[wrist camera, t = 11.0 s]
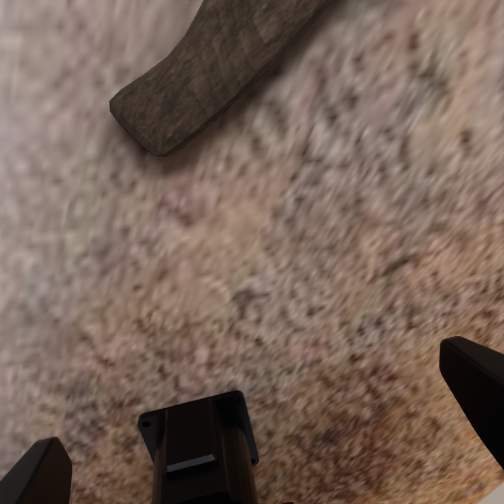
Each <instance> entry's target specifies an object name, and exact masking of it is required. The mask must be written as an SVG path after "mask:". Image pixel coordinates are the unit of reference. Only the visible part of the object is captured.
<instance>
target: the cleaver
mask: <svg viewBox="0 0 504 504" xmlns="http://www.w3.org/2000/svg"><path fill="white" fill-rule="evenodd" d="M333 1H334V0H204V1H203V3H202V5H201V7H200V8H199V10H198V12H197V14H196V16H195V18H194V20H193V22H192V23H191V25H190V27H189V29H188V31H187V33H186V34H185V36H184V37H183V38H182V40H181V41H180V42H179V43H178V44H177V46H176V47H175V48H174V49H173V51H172V52H171V53H170V54H169V55H168V56H167V57H166V58H165V59H163V60H162V61H161V62H160V63H158V64H157V65H156V66H154V67H153V68H152V69H150V70H149V71H148V72H146V73H145V74H144V75H142V76H141V77H139V78H138V79H136V80H135V81H133V82H132V83H130V84H129V85H127V86H126V87H124V88H123V89H121V90H120V91H119V92H118V93H117V94H116V95H115V96H114V97H113V98H112V99H111V100H110V101H109V103H110V112H111V113H112V115H113V116H114V117H115V119H116V120H117V121H118V123H119V124H120V125H121V126H122V127H123V128H124V129H125V130H126V131H127V132H128V133H129V134H130V135H131V136H132V137H133V138H134V139H136V140H137V141H138V142H139V143H140V144H141V145H142V146H143V147H144V148H145V149H147V150H148V151H150V152H151V153H153V154H154V155H156V156H163V157H167V156H169V155H171V154H172V153H174V152H176V151H178V150H179V149H181V148H182V147H183V146H185V145H186V144H187V143H188V142H190V141H191V140H192V139H193V138H195V137H196V136H197V135H199V134H200V133H201V132H202V131H203V130H204V129H206V128H207V127H208V126H209V125H210V124H211V123H212V122H214V121H215V120H216V119H217V118H218V117H219V116H221V115H222V114H223V113H224V112H225V111H226V110H227V109H228V108H229V107H230V106H231V105H232V104H233V103H235V102H236V101H237V100H238V99H239V98H240V97H241V96H242V95H243V94H244V93H245V92H246V91H247V90H248V89H249V88H250V87H251V86H252V85H253V84H254V83H255V82H256V81H257V80H258V79H259V78H260V77H261V76H262V75H263V74H264V73H265V72H266V71H267V70H268V69H269V68H270V67H271V66H272V65H273V64H274V63H275V62H276V61H277V60H278V59H279V58H280V57H281V56H282V55H283V54H284V53H285V52H286V51H287V50H288V49H289V48H290V47H291V46H292V44H293V43H294V42H295V41H296V40H297V39H298V38H299V37H300V36H301V35H302V34H303V33H304V32H305V31H306V30H307V29H308V28H309V27H310V25H311V24H312V23H313V22H314V21H315V20H316V19H317V18H318V17H319V16H320V15H321V14H322V13H323V12H324V10H325V9H326V8H327V7H328V6H329V5H330V4H331V3H332V2H333Z"/></svg>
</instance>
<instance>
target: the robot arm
mask: <svg viewBox="0 0 504 504" xmlns="http://www.w3.org/2000/svg"><path fill="white" fill-rule="evenodd" d="M439 368H440V372H441V374H442V377H443V378H444V380H445V382H446V383H447V385H448V387H449V388H450V390H451V392H452V393H453V395H454V397H455V398H456V400H457V402H458V403H459V405H460V407H461V408H462V410H463V412H464V413H465V415H466V417H467V418H468V420H469V422H470V423H471V425H472V427H473V428H474V430H475V431H476V433H477V434H478V436H479V437H480V439H481V440H482V442H483V443H484V444H485V446H486V447H487V448H488V450H489V451H490V452H491V454H492V455H493V457H494V458H495V459H496V461H497V462H498V463H499V465H500V466H501V467H502V469H503V470H504V354H502V353H500V352H497V351H495V350H492V349H490V348H488V347H485V346H483V345H480V344H478V343H475V342H473V341H471V340H468V339H466V338H463V337H461V336H454V337H450V338H446V339H443V340H442V341H441V343H440V357H439ZM235 398H238V399H237V400H233V399H235ZM144 421H149V422H144ZM138 427H139V429H140V432H141V434H142V437H143V439H144V441H145V444H146V446H147V449H148V451H149V453H150V456H151V458H152V461H153V463H154V476H153V490H152V504H259V503H258V498H257V492H256V486H255V481H254V475H253V469H252V467H253V466H255V465H257V464H258V462H259V457H258V452H257V448H256V444H255V440H254V436H253V432H252V427H251V423H250V419H249V415H248V411H247V407H246V403H245V399H244V395H243V393H242V392H241V391H238V390H236V391H231V392H227V393H223V394H219V395H215V396H211V397H207V398H203V399H199V400H195V401H191V402H187V403H183V404H179V405H175V406H171V407H167V408H163V409H159V410H155V411H151V412H147V413H144V414H141V415H140V416H139V419H138ZM71 479H72V463H71V460H70V458H69V456H68V454H67V452H66V450H65V449H64V447H63V445H62V443H61V441H60V440H59V439H58V438H57V437H50V438H46V439H42V440H39V441H37V442H35V443H34V444H33V445H32V446H31V447H30V449H29V450H28V451H27V452H26V453H25V454H24V455H23V456H22V457H21V459H20V460H19V461H18V462H17V463H16V464H15V465H14V466H13V467H12V468H11V470H10V471H9V472H8V473H7V474H6V475H5V476H4V477H3V478H2V480H1V481H0V504H69V498H70V488H71ZM282 504H294V503H293V502H286V503H282Z"/></svg>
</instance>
